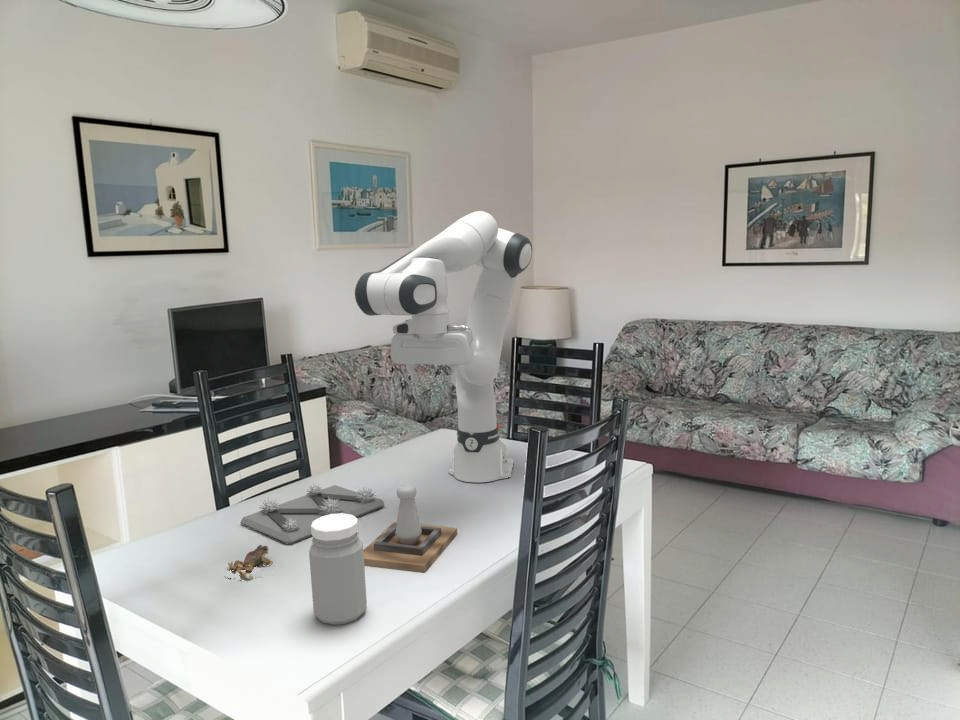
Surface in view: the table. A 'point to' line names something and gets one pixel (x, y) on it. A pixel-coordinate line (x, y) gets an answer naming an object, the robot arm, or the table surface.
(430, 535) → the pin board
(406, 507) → the salt shaker
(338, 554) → the jar
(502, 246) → the robot arm
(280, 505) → the decorative plate
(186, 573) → the table surface
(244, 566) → the frog figurine
